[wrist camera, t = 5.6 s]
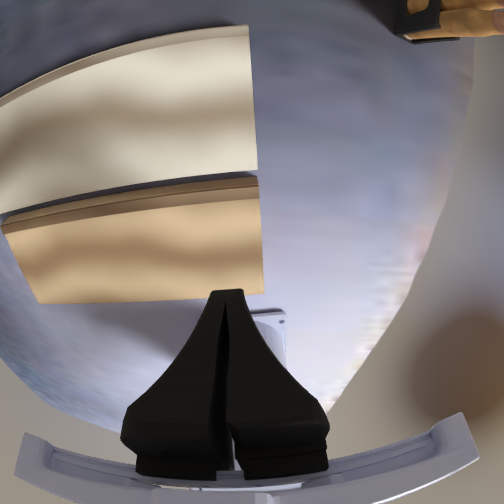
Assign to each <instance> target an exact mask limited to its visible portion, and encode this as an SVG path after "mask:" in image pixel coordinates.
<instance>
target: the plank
mask: <svg viewBox="0 0 504 504" xmlns="http://www.w3.org/2000/svg"><path fill="white" fill-rule="evenodd" d="M248 170H258V167H257V150H256V134H255V118H254V103H253V88H252V73H251V59H250V45H249V29H248V25H237V26H224V27H214V28H206V29H198V30H192V31H185V32H179V33H174V34H168V35H163V36H159V37H154V38H150V39H145V40H141V41H137V42H134V43H130V44H126V45H123V46H119V47H116V48H112V49H109V50H106V51H103V52H100V53H97V54H94V55H91V56H88V57H86V58H83V59H80V60H78V61H75V62H73V63H70V64H68V65H65V66H63V67H60V68H58V69H56V70H54V71H51V72H49V73H47V74H45V75H43V76H41V77H39V78H36V79H34V80H32V81H30V82H29V83H27V84H25V85H23V86H21V87H19V88H17V89H15V90H14V91H12V92H10V93H8V94H7V95H5V96H3V97H1V98H0V214H2V213H5V212H9V211H12V210H16V209H20V208H23V207H27V206H31V205H35V204H39V203H43V202H47V201H51V200H56V199H60V198H65V197H69V196H74V195H78V194H83V193H88V192H93V191H98V190H104V189H109V188H115V187H120V186H126V185H132V184H138V183H145V182H151V181H158V180H165V179H173V178H180V177H188V176H197V175H206V174H215V173H225V172H236V171H248Z"/></svg>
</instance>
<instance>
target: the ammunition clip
mask: <svg viewBox="0 0 504 504" xmlns="http://www.w3.org/2000/svg"><path fill="white" fill-rule="evenodd" d="M498 8H504V0H398V7H397V14H396V21H395V28H394V34H395V35H396V36H398V37H400V38H402V39H404V40H406V41H408V42H410V43H412V44H414V45H415V44H422V43H431V42H440V41H454V40H460V37H485V36H489V35H494V34H499V35H502V34H504V11H494V10H492V9H498Z"/></svg>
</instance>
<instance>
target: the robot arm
mask: <svg viewBox="0 0 504 504" xmlns="http://www.w3.org/2000/svg"><path fill="white" fill-rule="evenodd" d="M280 320H282V321H280ZM286 335H287V315H286V313H285V312H272V313H261V314H250V311H249V309H248V306H247V303H246V300H245V296H244V290H243V289H241V288H237V289H225V290H213V291H212V292H211V293H210V296H209V298H208V301H207V304H206V306H205V308H204V311H203V313H202V315H201V317H200V319H199V321H198V323H197V325H196V327H195V329H194V330H193V332H192V334H191V336H190V337H189V339H188V341H187V342H186V344H185V345H184V347H183V349H182V350H181V351H180V353H179V354H178V356H177V357H176V358H175V360H174V361H173V362H172V364H171V365H170V366H169V367H168V369H167V370H166V371H165V372H164V373H163V374H162V376H161V377H160V378H159V379H158V380H157V381H156V382H155V383H154V384H153V385H152V386H151V387H150V388H149V389H148V390H147V391H146V392H145V393H144V394H143V395H142V396H140V397H139V398H138V399H137V400H136V401H135V402H133V403H132V404H131V405H130V406H129V407H128V408H127V411H126V414H125V417H124V420H123V425H122V430H121V436H120V439H121V441H122V443H123V444H124V445H125V446H126V447H128V448H129V449H130V450H132V451H133V452H134V453H135V454H137V460H136V465H132V464H126V463H120V462H115V461H109V460H104V459H100V458H95V457H90V456H86V455H82V454H79V453H75V452H71V451H68V450H64V449H61V448H57V447H54V446H53V445H52V444H50V443H49V442H48V441H46V440H44V439H42V438H40V437H37V436H34V435H31V434H28V433H24V436H23V439H22V443H21V447H20V451H19V455H18V459H17V463H16V468H15V472H14V475H15V476H16V477H18V478H20V479H22V480H24V481H26V482H28V483H30V484H32V485H34V486H36V487H38V488H40V489H42V490H45V491H47V492H49V493H52V494H54V495H56V496H59V497H62V498H64V499H67V500H70V501H73V502H75V503H78V504H383V503H386V502H389V501H392V500H395V499H398V498H400V497H403V496H405V495H408V494H411V493H413V492H415V491H418V490H420V489H422V488H425V487H427V486H429V485H431V484H434V483H436V482H438V481H440V480H442V479H444V478H446V477H448V476H450V475H452V474H454V473H456V472H457V471H459V470H461V469H463V468H465V467H466V466H468V465H470V464H471V463H473V462H475V461H476V460H478V459H479V454H478V451H477V448H476V446H475V443H474V440H473V437H472V435H471V433H470V430H469V427H468V425H467V422H466V420H465V418H464V415H463V413H462V412H459V413H457V414H455V415H453V416H451V417H448V418H446V419H444V420H442V421H440V422H438V423H437V424H435V425H434V426H433V427H432V428H431V430H429V431H427V432H424V433H421V434H419V435H416V436H413V437H411V438H408V439H405V440H402V441H399V442H396V443H393V444H390V445H387V446H383V447H380V448H377V449H373V450H369V451H366V452H362V453H358V454H354V455H350V456H345V457H341V458H336V459H331V460H328V458H327V453H326V449H327V445H326V440H325V438H326V436H327V434H328V432H329V430H330V425H329V422H328V419H327V416H326V414H325V412H324V410H323V408H322V407H321V405H320V403H319V402H318V400H317V399H316V398H315V397H314V396H312V395H311V394H310V393H309V392H308V391H307V390H306V389H305V388H303V387H302V386H301V385H300V384H299V383H298V382H297V381H296V380H295V379H294V378H293V376H292V375H291V374H290V373H289V372H288V371H287V366H286ZM153 484H156V485H153ZM158 485H165V486H176V487H188V488H189V490H182V489H169V488H161V487H160V486H158Z"/></svg>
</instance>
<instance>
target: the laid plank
mask: <svg viewBox="0 0 504 504" xmlns="http://www.w3.org/2000/svg"><path fill="white" fill-rule="evenodd" d="M0 227H1V230H2V232H3V234H5V236H6V238H7V240H8V243H9V245H10V247H11V249H12V252H13V254H14V256H15V258H16V260H17V262H18V264H19V266H20V268H21V270H22V272H23V274H24V276H25V278H26V280H27V282H28V284H29V286H30V288H31V290H32V291H33V293H34V295H35V297H36V299H37V300H38V302H39V304H80V303H119V302H145V301H166V300H183V299H200V298H209V296H210V293H211V292H212V291H213V290H225V289H237V288H241V289H243V290H244V295H253V294H264V276H263V257H262V238H261V220H260V202H259V185H258V180H257V176H256V177H243V178H232V179H221V180H211V181H202V182H193V183H185V184H176V185H169V186H161V187H154V188H147V189H141V190H134V191H128V192H122V193H116V194H110V195H104V196H99V197H93V198H88V199H83V200H78V201H73V202H68V203H63V204H59V205H54V206H50V207H45V208H41V209H37V210H33V211H28V212H24V213H20V214H16V215H13V216H10V217H8V218H7V219H6V220H5V221H4V222H3V223H2V224H1V226H0Z"/></svg>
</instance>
